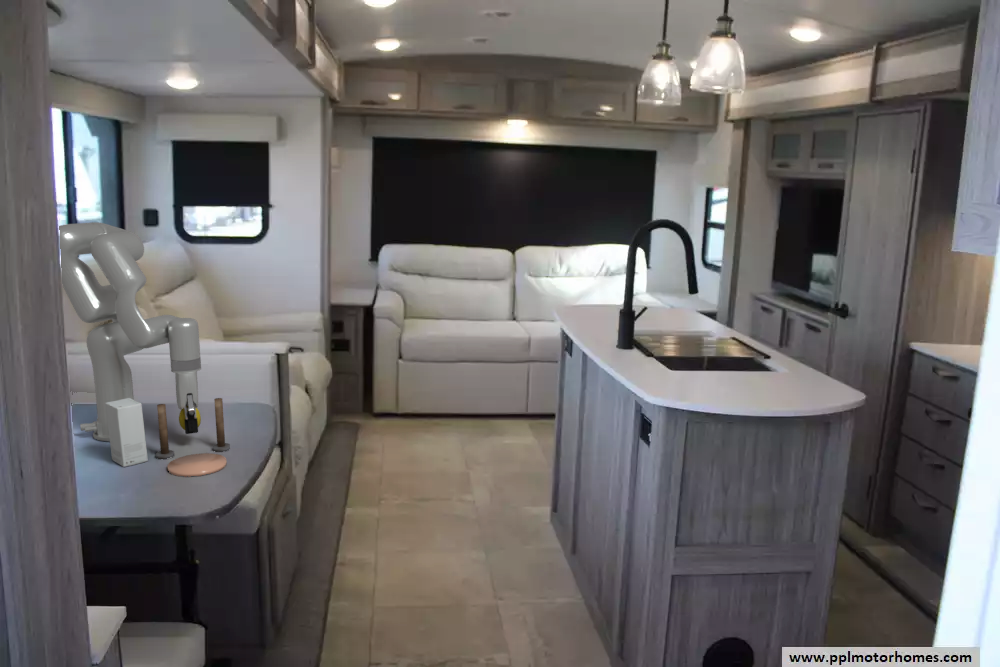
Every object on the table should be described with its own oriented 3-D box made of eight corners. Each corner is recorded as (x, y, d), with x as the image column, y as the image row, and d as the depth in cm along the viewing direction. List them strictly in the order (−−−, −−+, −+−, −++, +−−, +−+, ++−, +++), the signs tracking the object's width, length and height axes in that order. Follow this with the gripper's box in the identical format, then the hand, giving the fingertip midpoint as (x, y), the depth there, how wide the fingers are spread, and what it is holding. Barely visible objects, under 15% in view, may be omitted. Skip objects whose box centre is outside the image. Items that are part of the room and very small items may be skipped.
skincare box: (148, 462, 210) (143, 403, 207) (121, 468, 206) (116, 408, 203) (135, 453, 216) (130, 396, 213) (109, 459, 212) (104, 401, 208)
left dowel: (156, 460, 211) (152, 408, 208) (155, 455, 215) (151, 403, 212) (174, 458, 213) (171, 406, 210) (173, 452, 217) (169, 401, 214)
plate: (169, 480, 198) (169, 476, 198) (166, 461, 211) (165, 457, 210) (230, 471, 204) (229, 468, 204) (223, 454, 216) (223, 450, 216)
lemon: (175, 434, 221) (173, 405, 220) (191, 428, 226) (189, 400, 224) (190, 437, 219) (188, 408, 217) (206, 431, 224) (204, 403, 222)
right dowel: (213, 453, 217) (210, 402, 214) (211, 447, 221) (208, 397, 218) (231, 450, 219) (228, 400, 216) (228, 445, 223) (226, 396, 220)
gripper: (168, 359, 225) (173, 422, 228) (173, 373, 209) (178, 441, 213) (197, 356, 228) (201, 419, 231) (204, 370, 213) (208, 437, 216)
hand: (190, 428), depth 222 cm, fingers closed on lemon, 5 cm apart
